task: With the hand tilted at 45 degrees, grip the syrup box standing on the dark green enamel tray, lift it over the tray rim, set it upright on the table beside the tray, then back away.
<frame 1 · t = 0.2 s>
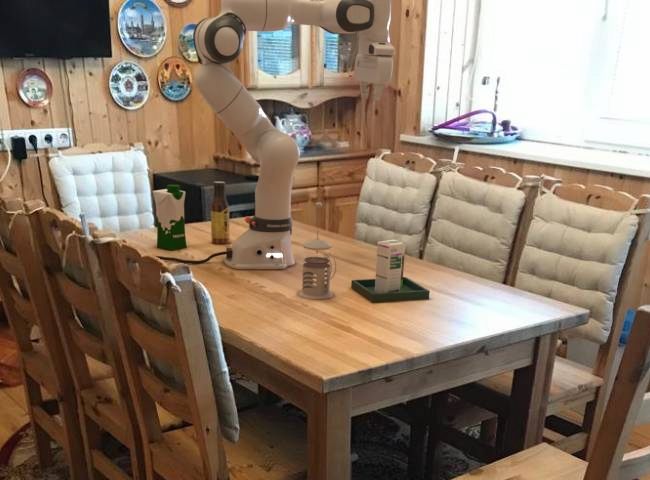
hand: (370, 99, 248), 48 cm above the table, tool pointing down, fingers open, 8 cm apart
syrup box: (387, 294, 234), resting on tray
sauce bottle: (220, 243, 284), on the table
tray: (389, 293, 236), on the table
milk carton: (171, 247, 275), on the table
french press: (317, 295, 231), on the table
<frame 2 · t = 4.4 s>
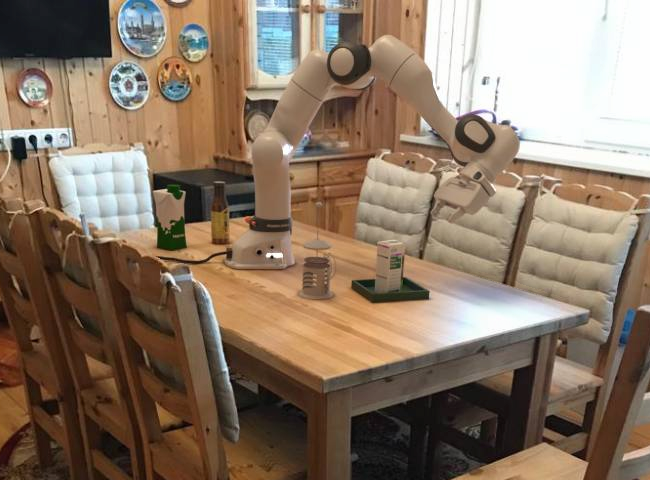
hand: (440, 218, 229), 21 cm above the table, tool tilted 45°, fingers open, 8 cm apart
nothing on the table moved.
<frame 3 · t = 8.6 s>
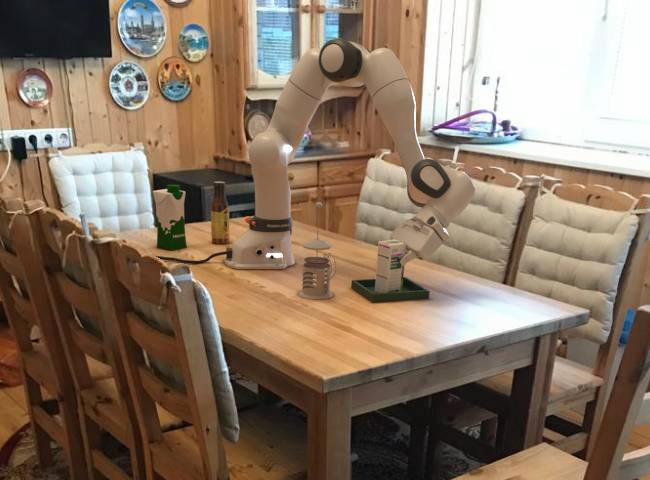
hand: (394, 260, 230), 10 cm above the table, tool tilted 45°, fingers closed on syrup box, 6 cm apart
syrup box: (387, 293, 234), resting on tray, touching gripper
everything else where it was.
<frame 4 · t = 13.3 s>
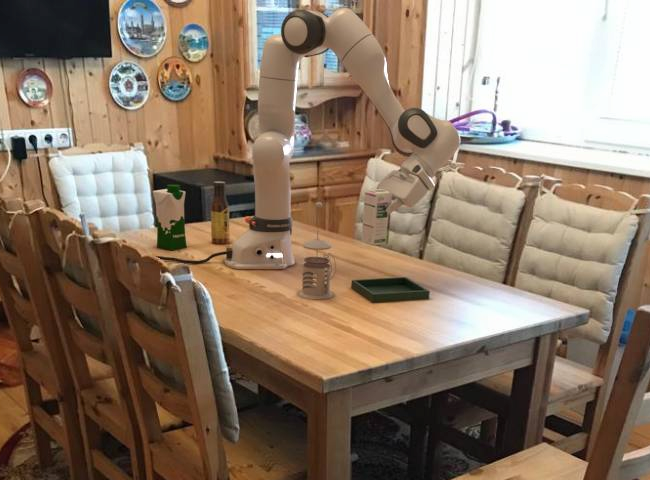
hand: (381, 210, 233), 21 cm above the table, tool tilted 45°, fingers closed on syrup box, 6 cm apart
syrup box: (374, 243, 238), point 12 cm above the table, touching gripper
everything else where it was.
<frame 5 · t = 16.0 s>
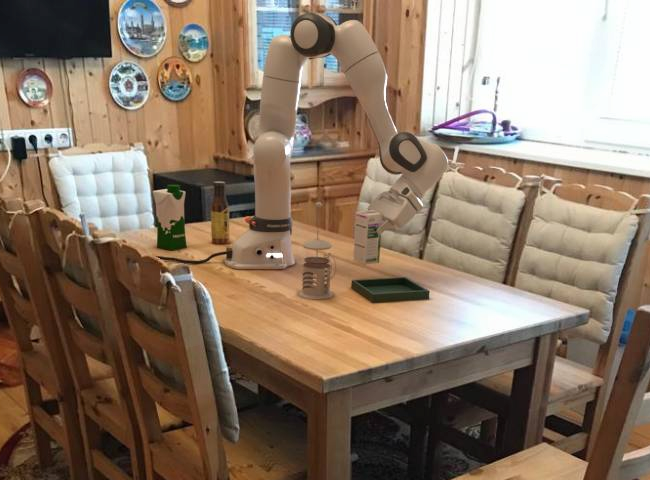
hand: (371, 230, 242), 14 cm above the table, tool tilted 45°, fingers closed on syrup box, 6 cm apart
syrup box: (365, 262, 246), point 5 cm above the table, touching gripper
everything else where it was.
when the fingers open (9 cm above the table, at t = 18.1 s): syrup box stays where it is, on the table.
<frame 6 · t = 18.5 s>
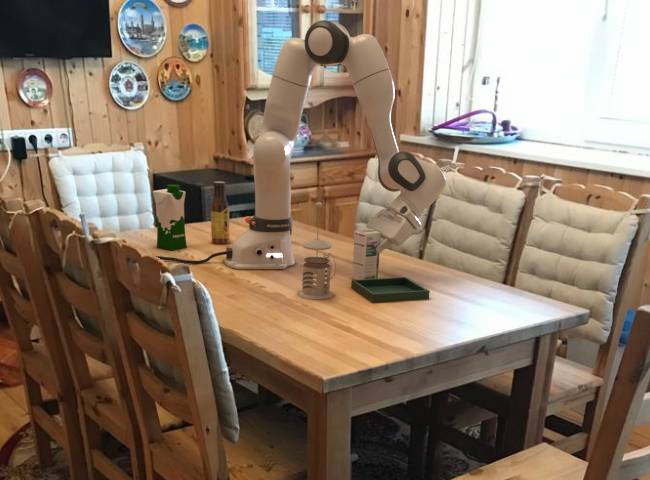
hand: (370, 248, 244), 9 cm above the table, tool tilted 45°, fingers open, 8 cm apart
syrup box: (364, 280, 248), on the table
everything else where it was.
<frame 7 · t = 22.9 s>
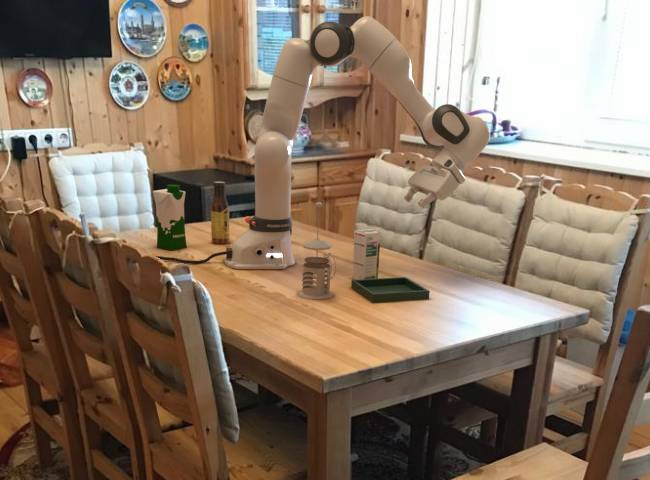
hand: (413, 203, 242), 22 cm above the table, tool tilted 45°, fingers open, 8 cm apart
nothing on the table moved.
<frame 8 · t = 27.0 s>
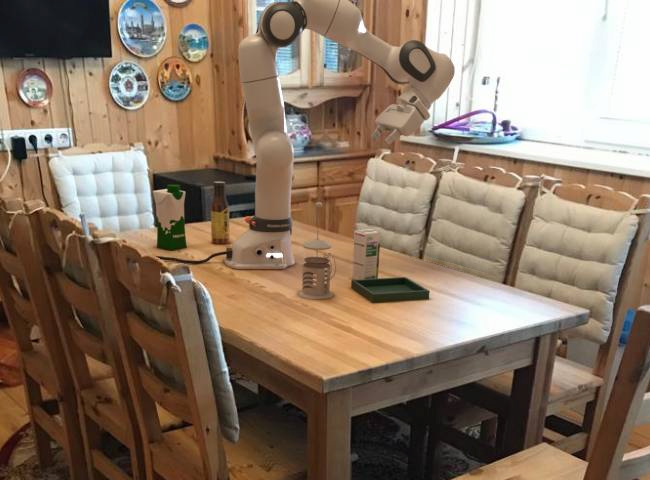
hand: (379, 141, 244), 37 cm above the table, tool tilted 45°, fingers open, 8 cm apart
nothing on the table moved.
at the end: syrup box inside the target area (1.2 cm from its centre), on the table; syrup box tilted 0°; syrup box touching table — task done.
